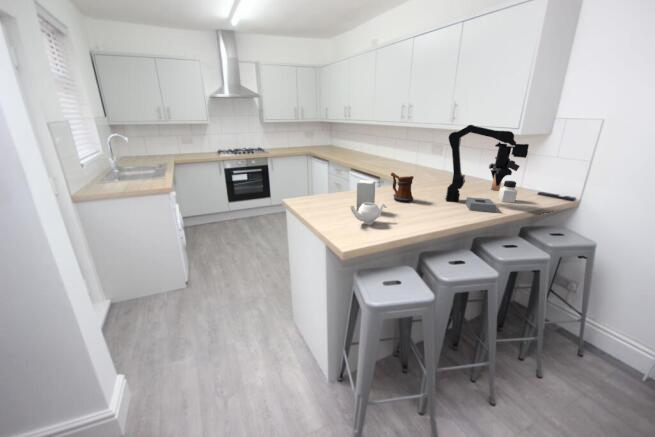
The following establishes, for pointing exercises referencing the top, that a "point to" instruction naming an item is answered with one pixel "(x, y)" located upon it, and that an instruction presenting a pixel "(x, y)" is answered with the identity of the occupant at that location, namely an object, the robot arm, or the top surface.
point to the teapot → (368, 212)
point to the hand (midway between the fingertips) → (496, 184)
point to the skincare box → (365, 192)
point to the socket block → (480, 204)
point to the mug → (403, 188)
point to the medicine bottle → (508, 192)
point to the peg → (494, 187)
